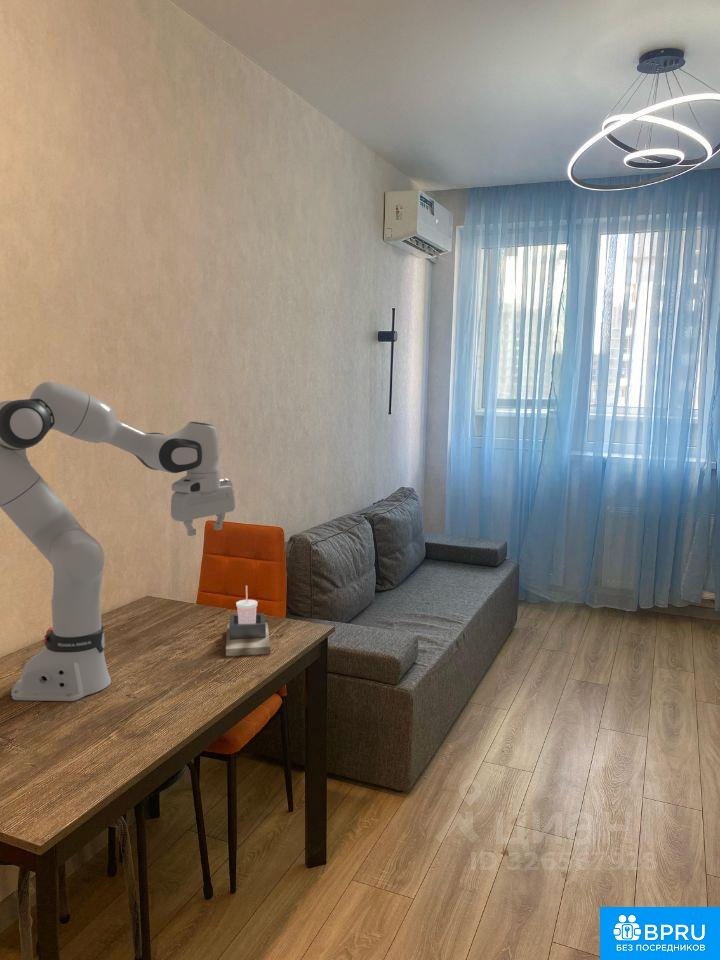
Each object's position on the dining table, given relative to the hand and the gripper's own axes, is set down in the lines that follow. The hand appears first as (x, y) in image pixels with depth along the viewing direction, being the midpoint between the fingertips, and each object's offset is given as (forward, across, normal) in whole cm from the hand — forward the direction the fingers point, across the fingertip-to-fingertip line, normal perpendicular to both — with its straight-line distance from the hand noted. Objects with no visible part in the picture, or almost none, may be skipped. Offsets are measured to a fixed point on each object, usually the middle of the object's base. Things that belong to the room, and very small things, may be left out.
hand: (205, 532), depth 204 cm
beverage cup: (+31, -12, +3) cm, 34 cm away
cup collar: (+31, -12, +3) cm, 34 cm away
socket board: (+33, -11, +5) cm, 35 cm away
